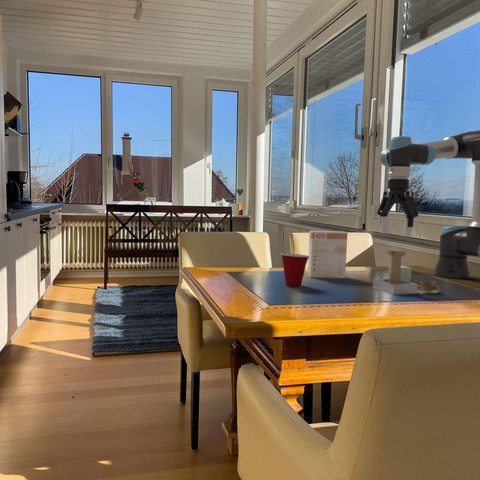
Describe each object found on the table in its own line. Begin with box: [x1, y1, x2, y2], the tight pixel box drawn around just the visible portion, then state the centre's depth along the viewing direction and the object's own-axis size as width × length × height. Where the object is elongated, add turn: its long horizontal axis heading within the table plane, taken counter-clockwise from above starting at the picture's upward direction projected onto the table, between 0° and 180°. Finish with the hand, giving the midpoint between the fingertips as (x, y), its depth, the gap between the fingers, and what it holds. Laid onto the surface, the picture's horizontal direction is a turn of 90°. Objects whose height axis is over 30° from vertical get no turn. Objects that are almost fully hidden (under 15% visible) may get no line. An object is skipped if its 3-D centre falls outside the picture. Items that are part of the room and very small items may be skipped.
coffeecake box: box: [307, 230, 348, 279], centre depth 191 cm, size 15×7×20 cm, turn 92°
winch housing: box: [372, 278, 418, 296], centre depth 164 cm, size 10×12×4 cm
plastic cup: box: [280, 252, 310, 287], centre depth 168 cm, size 11×11×12 cm
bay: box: [382, 276, 440, 294], centre depth 173 cm, size 8×22×4 cm, turn 19°
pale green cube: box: [387, 264, 413, 282], centre depth 178 cm, size 6×6×6 cm
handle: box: [387, 248, 407, 284], centre depth 164 cm, size 5×6×15 cm
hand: (395, 234), depth 171 cm, fingers open, 13 cm apart
